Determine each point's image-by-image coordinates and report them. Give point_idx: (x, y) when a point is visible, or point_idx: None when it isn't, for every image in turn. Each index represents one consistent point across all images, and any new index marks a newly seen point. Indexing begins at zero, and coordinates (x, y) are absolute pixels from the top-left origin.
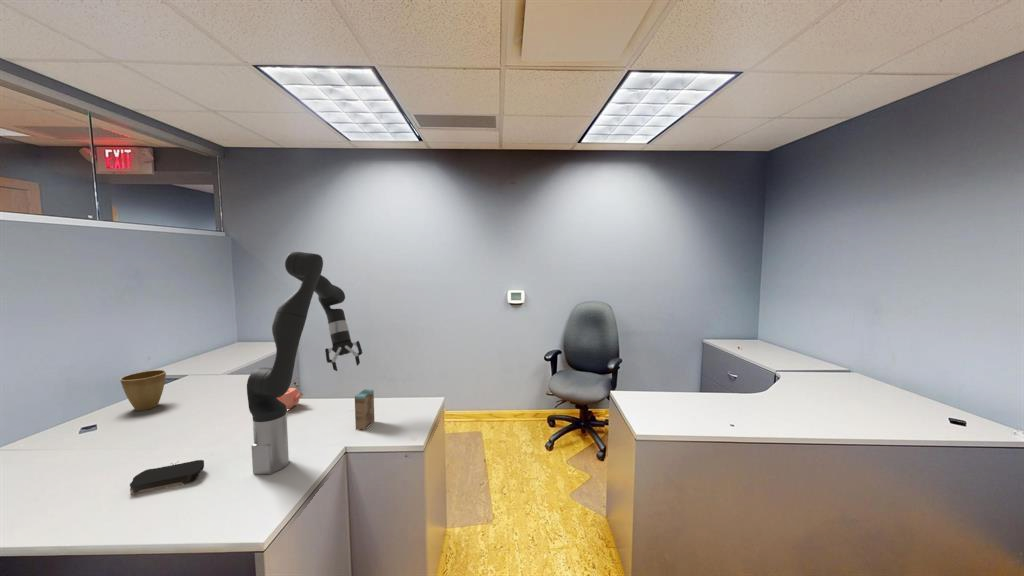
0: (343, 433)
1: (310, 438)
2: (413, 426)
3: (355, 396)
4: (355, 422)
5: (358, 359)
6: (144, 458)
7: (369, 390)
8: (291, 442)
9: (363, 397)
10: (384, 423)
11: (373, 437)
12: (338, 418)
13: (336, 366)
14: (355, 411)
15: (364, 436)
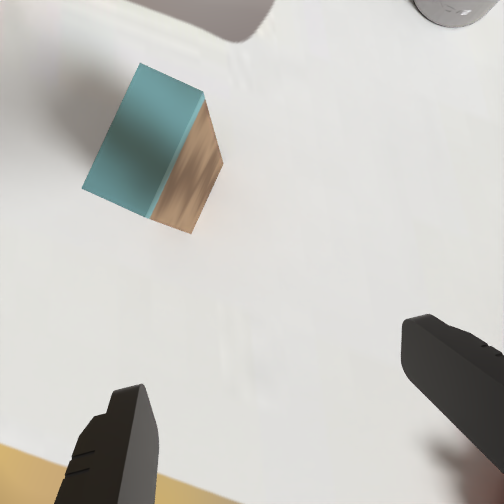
0: (265, 148)
1: (377, 148)
2: (5, 114)
3: (197, 89)
4: (220, 153)
5: (75, 486)
6: None
7: (109, 181)
8: (436, 139)
9: (145, 67)
10: None
11: None
12: (301, 302)
13: (450, 345)
14: (213, 133)
15: None
